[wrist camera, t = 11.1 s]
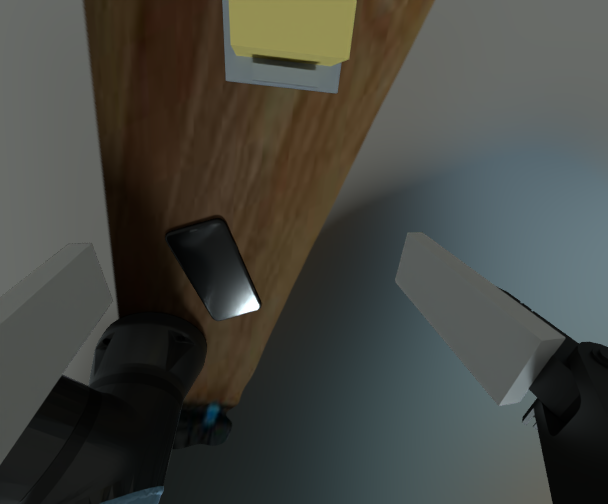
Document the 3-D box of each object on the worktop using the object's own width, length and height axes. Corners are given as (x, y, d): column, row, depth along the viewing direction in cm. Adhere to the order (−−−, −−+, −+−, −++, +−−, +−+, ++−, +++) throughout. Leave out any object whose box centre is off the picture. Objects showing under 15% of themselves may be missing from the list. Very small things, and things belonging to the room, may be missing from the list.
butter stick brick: (236, 55, 25) (230, 44, 19) (233, -11, 22) (226, -43, 17) (331, 66, 26) (348, 59, 21) (337, 5, 24) (359, -20, 19)
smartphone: (263, 305, 42) (223, 214, 33) (263, 309, 41) (222, 217, 33) (215, 319, 42) (162, 232, 33) (214, 323, 41) (160, 235, 33)
